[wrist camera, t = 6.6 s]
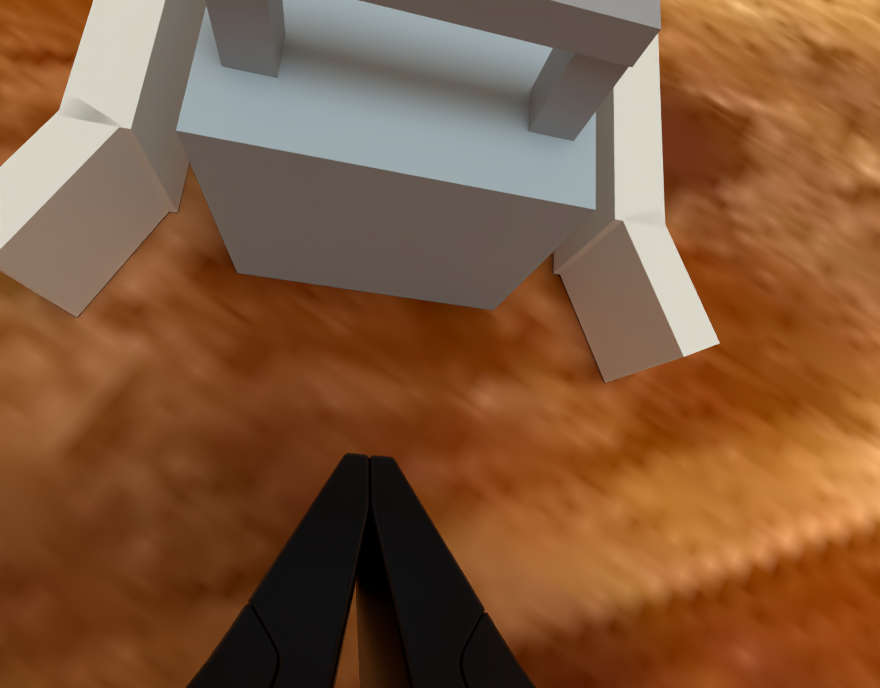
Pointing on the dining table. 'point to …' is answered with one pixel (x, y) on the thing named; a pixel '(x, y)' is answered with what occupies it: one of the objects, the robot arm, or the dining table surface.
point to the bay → (165, 165)
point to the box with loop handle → (404, 135)
